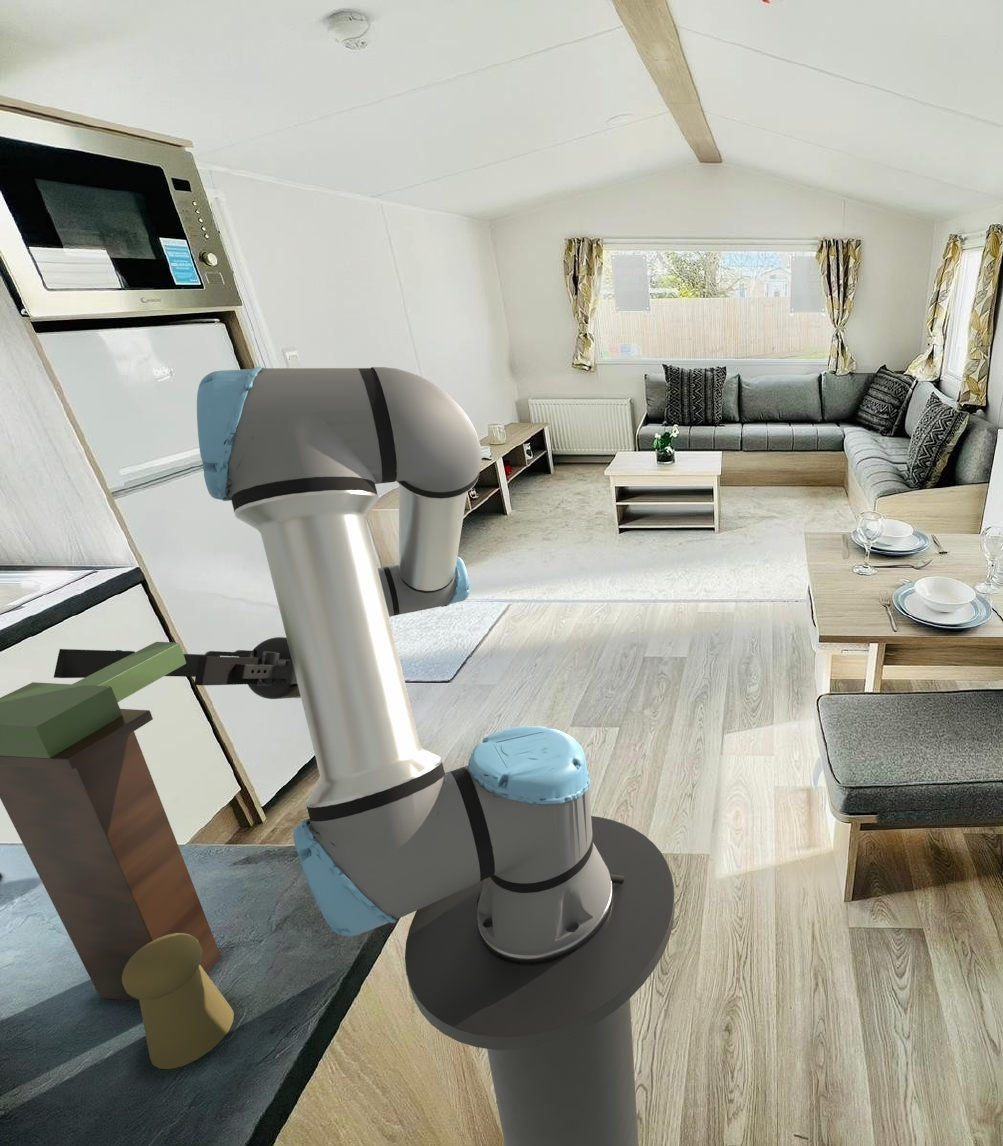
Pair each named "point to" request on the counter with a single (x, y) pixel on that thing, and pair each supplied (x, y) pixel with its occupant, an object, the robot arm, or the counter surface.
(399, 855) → the robot arm
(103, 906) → the shelf stand
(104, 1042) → the counter surface
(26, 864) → the counter surface
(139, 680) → the paddle
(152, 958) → the cork
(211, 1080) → the counter surface
